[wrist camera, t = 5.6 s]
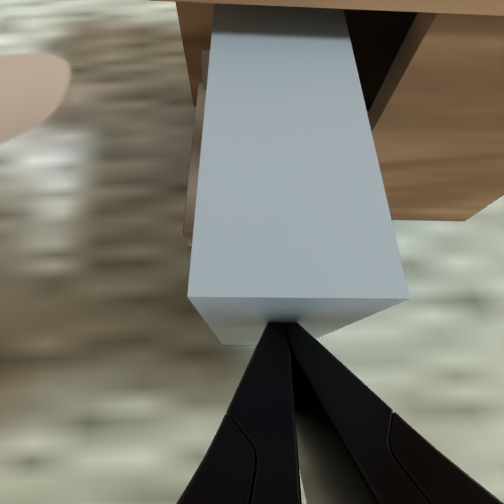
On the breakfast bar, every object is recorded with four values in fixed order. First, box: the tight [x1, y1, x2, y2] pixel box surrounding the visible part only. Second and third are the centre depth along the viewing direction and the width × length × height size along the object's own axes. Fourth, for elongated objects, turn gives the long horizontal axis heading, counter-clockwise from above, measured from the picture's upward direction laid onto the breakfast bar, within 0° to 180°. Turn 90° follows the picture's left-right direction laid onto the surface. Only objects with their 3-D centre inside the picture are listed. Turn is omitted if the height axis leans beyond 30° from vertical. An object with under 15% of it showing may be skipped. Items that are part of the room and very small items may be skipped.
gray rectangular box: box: [187, 3, 410, 345], centre depth 13 cm, size 16×5×10 cm, turn 0°
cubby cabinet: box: [152, 0, 504, 246], centre depth 13 cm, size 14×18×12 cm
